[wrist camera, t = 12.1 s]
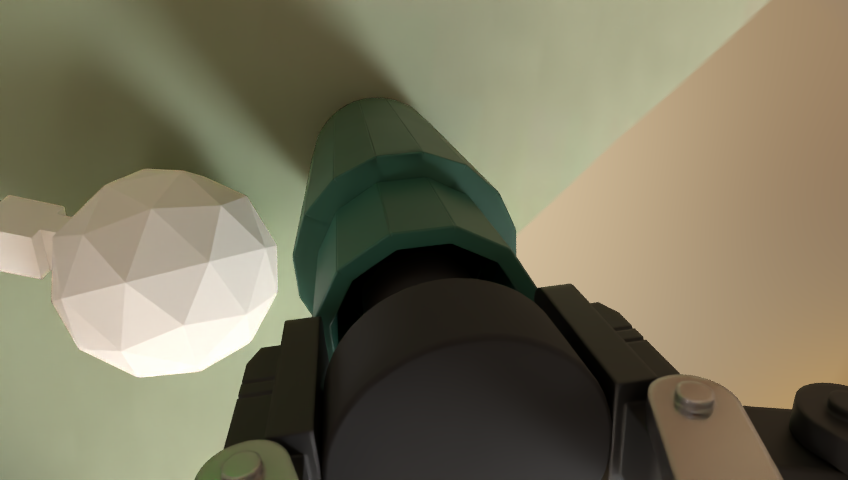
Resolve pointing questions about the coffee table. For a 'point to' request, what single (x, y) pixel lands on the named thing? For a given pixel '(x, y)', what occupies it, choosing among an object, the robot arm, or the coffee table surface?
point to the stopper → (457, 383)
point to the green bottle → (392, 210)
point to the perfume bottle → (149, 269)
